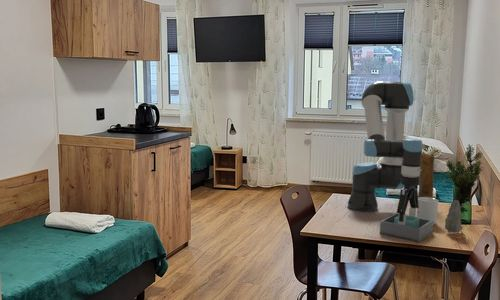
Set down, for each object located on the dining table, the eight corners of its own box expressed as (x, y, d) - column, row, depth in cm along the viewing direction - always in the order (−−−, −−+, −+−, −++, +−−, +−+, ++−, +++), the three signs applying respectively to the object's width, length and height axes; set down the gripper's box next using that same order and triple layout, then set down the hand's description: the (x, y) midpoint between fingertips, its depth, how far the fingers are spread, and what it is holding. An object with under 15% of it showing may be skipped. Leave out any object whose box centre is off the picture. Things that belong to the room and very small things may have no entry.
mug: (439, 225, 217) (441, 201, 215) (420, 225, 217) (422, 201, 215) (429, 218, 229) (431, 195, 227) (411, 217, 229) (412, 195, 227)
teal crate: (393, 231, 203) (394, 217, 203) (400, 227, 210) (401, 214, 209) (412, 235, 199) (413, 221, 198) (418, 231, 205) (419, 217, 204)
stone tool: (459, 231, 209) (462, 198, 207) (463, 233, 206) (466, 199, 204) (441, 231, 208) (444, 198, 206) (445, 234, 205) (448, 200, 202)
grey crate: (379, 233, 203) (380, 221, 202) (394, 225, 216) (395, 213, 215) (418, 242, 193) (419, 229, 192) (432, 233, 206) (433, 220, 205)
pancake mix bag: (423, 210, 244) (428, 156, 240) (411, 201, 263) (415, 150, 259) (436, 210, 244) (441, 156, 240) (423, 201, 263) (427, 151, 259)
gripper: (408, 180, 189) (404, 233, 192) (428, 173, 208) (424, 221, 211) (390, 178, 194) (387, 229, 197) (411, 170, 212) (408, 218, 215)
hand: (406, 225), depth 204 cm, fingers open, 11 cm apart
